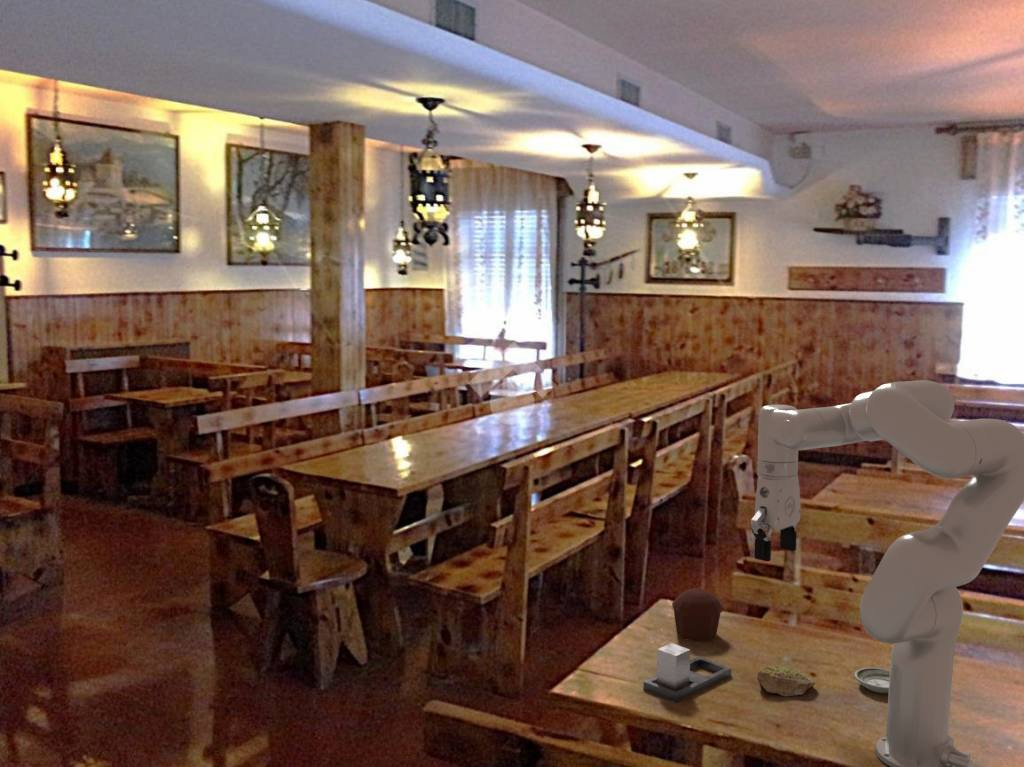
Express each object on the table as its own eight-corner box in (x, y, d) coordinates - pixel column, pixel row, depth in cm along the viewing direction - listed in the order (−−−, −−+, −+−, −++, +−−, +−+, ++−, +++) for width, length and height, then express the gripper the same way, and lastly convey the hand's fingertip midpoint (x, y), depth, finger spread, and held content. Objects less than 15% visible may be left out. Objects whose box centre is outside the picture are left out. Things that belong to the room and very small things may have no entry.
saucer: (917, 693, 187) (918, 681, 186) (881, 703, 182) (882, 691, 182) (878, 674, 195) (878, 663, 195) (843, 683, 191) (843, 672, 190)
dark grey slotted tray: (731, 675, 194) (731, 668, 194) (676, 702, 182) (676, 695, 181) (698, 663, 200) (698, 656, 199) (643, 688, 187) (643, 681, 187)
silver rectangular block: (689, 688, 187) (690, 649, 186) (675, 695, 184) (676, 656, 183) (670, 681, 190) (671, 642, 189) (656, 688, 187) (657, 649, 186)
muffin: (711, 648, 208) (712, 603, 207) (663, 637, 214) (664, 594, 212) (729, 630, 218) (730, 588, 217) (683, 621, 224) (684, 579, 222)
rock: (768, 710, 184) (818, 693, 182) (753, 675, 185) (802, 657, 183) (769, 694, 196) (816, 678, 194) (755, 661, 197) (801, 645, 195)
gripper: (772, 478, 177) (770, 568, 179) (816, 465, 190) (814, 549, 191) (736, 472, 183) (734, 560, 184) (782, 460, 195) (780, 542, 197)
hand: (775, 554), depth 188 cm, fingers open, 9 cm apart
